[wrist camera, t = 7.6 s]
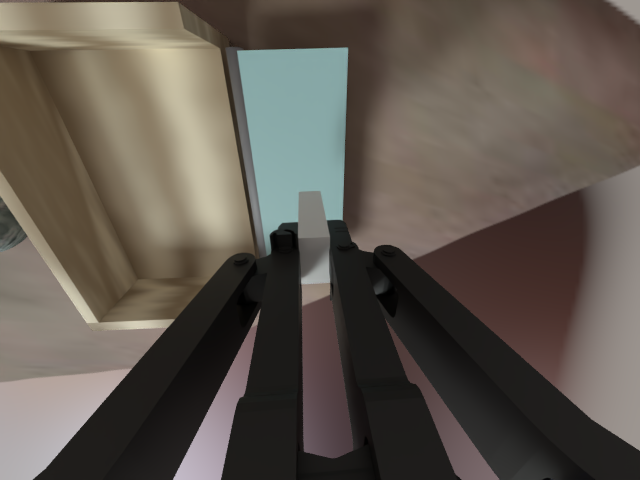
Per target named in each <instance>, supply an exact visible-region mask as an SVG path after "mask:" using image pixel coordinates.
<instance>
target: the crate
mask: <svg viewBox="0 0 640 480" xmlns="http://www.w3.org/2000/svg"><path fill="white" fill-rule="evenodd" d="M226 47H230V44H229V39H228V38H227V37H225V36H224V35H223V34H221V33H220V32H219V31H217V30H216V29H214V28H213V27H212V26H210V25H209V24H208V23H206V22H205V21H203V20H202V19H201V18H199V17H198V16H197V15H195V14H194V13H193V12H191V11H190V10H188V9H187V8H186V7H184V6H183V5H182V4H180V3H179V2H75V3H0V196H1V198H2V199H3V201H4V202H5V204H6V205H7V206H8V208H9V209H10V211H11V212H12V214H13V215H14V217H15V218H16V220H17V221H18V223H19V224H20V226H21V227H22V228H23V230H24V231H25V233H26V234H27V236H28V237H29V239H30V240H31V242H32V243H33V245H34V246H35V248H36V249H37V250H38V252H39V253H40V255H41V256H42V258H43V259H44V261H45V262H46V264H47V265H48V267H49V268H50V270H51V271H52V273H53V274H54V275H55V277H56V278H57V280H58V281H59V283H60V284H61V286H62V287H63V289H64V290H65V292H66V293H67V295H68V296H69V297H70V299H71V300H72V302H73V303H74V305H75V306H76V308H77V309H78V311H79V312H80V314H81V315H82V317H83V318H84V319H85V321H86V322H87V324H88V325H89V327H90V328H91V330H92V331H102V330H124V329H145V328H167V327H169V326H170V325H171V323H172V322H173V321H174V320H175V319H176V318H177V317H178V315H179V314H180V313H181V312H182V311H183V310H184V308H185V307H186V306H187V305H188V304H189V303H190V302H191V300H192V299H193V298H194V297H195V296H196V295H197V293H198V292H199V291H200V290H201V289H202V288H203V287H204V285H205V284H206V283H207V282H208V281H209V280H210V278H211V277H212V276H213V275H214V274H215V273H216V272H217V270H218V269H219V268H220V267H221V266H222V265H223V263H224V262H225V261H226V260H227V259H228V258H229V257H231V256H233V255H235V254H237V253H251V254H253V255H254V256H255V258H256V259H259V258H260V257H259V251H258V245H257V239H256V233H255V227H254V221H253V214H252V208H251V202H250V196H249V190H248V184H247V178H246V171H245V165H244V159H243V153H242V147H241V141H240V134H239V128H238V122H237V116H236V110H235V104H234V98H233V91H232V85H231V79H230V73H229V67H228V61H227V55H226Z"/></svg>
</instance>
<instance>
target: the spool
mask: <svg viewBox="0 0 640 480" xmlns="http://www.w3.org/2000/svg"><path fill="white" fill-rule="evenodd" d="M26 237H27V234H26V233H25V231H24V230H23V228H22V227H21V226H20V224H19V223H18V221H17V220H16V218H15V217H14V215H13V214H12V212H11V211H10V209H9V208H8V206H7V205H6V204H5V202H4V201H3V199H2V198H1V196H0V252H2V251H5V250H8V249H10V248H12V247H14V246H16V245H17V244H19V243H20V242H22V241H23V240H24V239H25V238H26Z"/></svg>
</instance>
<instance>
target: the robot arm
mask: <svg viewBox="0 0 640 480" xmlns="http://www.w3.org/2000/svg"><path fill="white" fill-rule="evenodd" d="M269 236H270V244H271V254H270V255H268V256H266V257H262V258H259V259H256V258H255V256H254V255H253V254H251V253H237V254H235V255H233V256H231V257H229V258H228V259H227V260H226V261H225V262H224V263H223V265H222V266H221V267H220V268H219V269H218V270H217V272H216V273H215V274H214V275H213V276H212V277H211V278H210V280H209V281H208V282H207V283H206V284H205V285H204V287H203V288H202V289H201V290H200V291H199V292H198V293H197V295H196V296H195V297H194V298H193V299H192V300H191V302H190V303H189V304H188V305H187V306H186V307H185V308H184V310H183V311H182V312H181V313H180V314H179V315H178V317H177V318H176V319H175V320H174V321H173V322H172V323H171V325H170V326H169V327H168V328H167V329H166V330H165V332H164V333H163V334H162V335H161V336H160V337H159V338H158V340H157V341H156V342H155V343H154V344H153V345H152V347H151V348H150V349H149V350H148V351H147V352H146V353H145V355H144V356H143V357H142V358H141V359H140V360H139V362H138V363H137V364H136V365H135V366H134V367H133V368H132V370H131V371H130V372H129V373H128V374H127V376H126V377H125V378H124V379H123V380H122V381H121V382H120V383H119V385H118V386H117V387H116V388H115V389H114V390H113V392H112V393H111V394H110V395H109V396H108V397H107V398H106V400H105V401H104V402H103V403H102V404H101V405H100V407H99V408H98V409H97V410H96V411H95V412H94V413H93V415H92V416H91V417H90V418H89V419H88V420H87V422H86V423H85V424H84V425H83V426H82V427H81V428H80V430H79V431H78V432H77V433H76V434H75V435H74V437H73V438H72V439H71V440H70V441H69V442H68V443H67V445H66V446H65V447H64V448H63V449H62V450H61V452H60V453H59V454H58V455H57V456H56V457H55V459H54V460H53V461H52V462H51V463H50V464H49V465H48V467H47V468H46V469H45V470H44V471H42V472H41V473H40V474H39V475H38V476H37V477H35V478H34V479H33V480H173V478H174V476H175V474H176V472H177V470H178V468H179V467H180V465H181V463H182V461H183V459H184V457H185V455H186V453H187V451H188V449H189V447H190V445H191V443H192V441H193V439H194V437H195V435H196V433H197V431H198V429H199V427H200V426H201V423H202V422H203V419H204V418H205V416H206V414H207V412H208V410H209V408H210V406H211V404H212V402H213V400H214V398H215V396H216V394H217V392H218V390H219V388H220V386H221V384H222V382H223V381H224V379H225V377H226V375H227V373H228V371H229V369H230V367H231V365H232V363H233V361H234V359H235V357H236V355H237V353H238V351H239V349H240V347H241V345H242V343H243V341H244V339H245V338H246V336H247V334H248V332H249V330H250V328H251V326H252V324H253V322H254V320H255V318H256V316H257V314H258V312H259V310H260V308H261V310H260V315H259V321H258V326H257V332H256V337H255V342H254V348H253V354H252V359H251V364H250V370H249V375H248V381H247V386H246V391H245V394H244V396H243V397H241V398H240V399H239V401H238V403H237V406H236V410H235V415H234V419H233V424H232V429H231V434H230V439H229V444H228V448H227V453H226V458H225V464H224V468H223V473H222V478H221V480H461V479H460V478H459V477H458V476H457V475H456V474H455V473H454V470H453V468H452V466H451V463H450V461H449V458H448V456H447V453H446V451H445V448H444V446H443V443H442V441H441V439H440V436H439V434H438V431H437V429H436V426H435V424H434V421H433V419H432V416H431V414H430V411H429V409H428V407H427V404H426V402H425V399H424V397H423V395H422V393H421V391H420V389H419V388H418V386H417V385H416V384H412V383H410V382H409V381H408V379H407V376H406V374H405V371H404V369H403V366H402V363H401V361H400V358H399V355H398V353H397V350H396V347H395V345H394V342H393V339H392V337H391V334H390V331H389V329H388V326H387V323H386V321H385V319H386V320H387V322H388V323H389V325H390V326H391V327H392V329H393V330H394V331H395V333H396V334H397V336H398V337H399V339H400V340H401V342H402V343H403V344H404V346H405V347H406V349H407V350H408V352H409V353H410V354H411V356H412V357H413V359H414V360H415V361H416V363H417V364H418V366H419V367H420V368H421V370H422V371H423V373H424V374H425V376H426V377H427V378H428V380H429V381H430V383H431V384H432V385H433V387H434V388H435V390H436V391H437V393H438V394H439V395H440V397H441V398H442V399H443V401H444V403H445V404H446V405H447V407H448V408H449V410H450V411H451V412H452V414H453V415H454V417H455V418H456V419H457V421H458V422H459V424H460V425H461V427H462V428H463V429H464V431H465V432H466V434H467V435H468V436H469V438H470V439H471V441H472V442H473V444H474V445H475V447H476V448H477V449H478V450H479V452H480V454H481V455H482V456H483V458H484V459H485V460H486V462H487V463H488V465H489V466H490V467H491V469H492V470H493V471H494V473H495V474H496V475H497V477H498V478H499V479H500V480H640V451H639V450H638V449H636V448H635V447H633V446H631V445H630V444H628V443H627V442H625V441H624V440H622V439H621V438H619V437H618V436H616V435H615V434H613V433H611V432H610V431H608V430H607V429H605V428H603V427H602V426H601V425H599V424H598V423H596V422H594V421H593V420H591V419H590V418H589V417H588V416H587V415H586V414H585V413H584V412H583V411H581V410H580V409H579V408H578V407H577V406H576V405H574V404H573V403H572V402H571V401H570V400H569V399H568V398H567V397H566V396H564V395H563V394H562V393H561V392H560V391H559V390H558V389H557V388H556V387H554V386H553V385H552V384H551V383H550V382H549V381H548V380H546V379H545V378H544V377H543V376H542V375H541V374H540V373H539V372H538V371H536V370H535V369H534V368H533V367H532V366H531V365H530V364H529V363H527V362H526V361H525V360H524V359H523V358H521V356H520V355H518V354H517V353H516V352H515V351H514V350H513V349H512V348H511V347H509V346H508V345H507V344H506V343H505V342H504V341H503V340H502V339H500V338H499V337H498V336H497V335H496V334H495V333H494V332H493V331H491V330H490V329H489V328H488V327H487V326H486V325H485V324H484V323H482V322H481V321H480V320H479V319H478V318H477V317H476V316H474V315H473V314H472V313H471V312H470V311H469V310H468V309H467V308H466V307H464V306H463V305H462V304H461V303H460V302H459V301H458V300H457V299H455V298H454V297H453V296H452V295H451V294H450V293H449V292H448V291H446V290H445V289H444V288H443V287H442V286H441V285H439V284H438V283H437V282H436V281H435V280H434V279H433V278H432V277H431V276H430V275H428V274H427V273H426V272H425V271H424V270H423V269H422V268H420V267H419V266H418V265H417V264H416V263H415V262H414V261H413V260H412V259H410V258H409V257H408V256H407V255H406V254H405V253H404V252H403V251H401V250H400V249H399V248H397V247H394V246H392V245H381V246H378V247H376V248H375V249H374V253H372V252H366V251H362V250H359V249H358V246H357V245H356V243H354V242H352V240H351V237H350V234H349V232H348V229H347V226H346V223H345V222H343V221H342V220H326V216H325V211H324V206H323V201H322V196H321V192H320V191H305V192H299V203H298V222H288V223H282V224H281V225H280V226H279V227H278V229H277V230H274V231H273V232H271V233H270V235H269ZM314 283H330V300H332V304H333V310H334V316H335V323H336V330H337V337H338V344H339V350H340V357H341V364H342V370H343V377H344V383H345V390H346V397H347V403H348V410H349V417H350V423H351V430H352V438H353V451H352V452H349V453H347V454H345V455H343V456H340V457H338V458H333V459H332V458H327V457H323V456H319V455H314V454H310V453H306V452H304V443H303V366H302V288H301V284H314Z"/></svg>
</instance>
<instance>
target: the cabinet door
mask: <svg viewBox="0 0 640 480" xmlns="http://www.w3.org/2000/svg"><path fill="white" fill-rule="evenodd" d="M226 55H227V61H228V67H229V73H230V79H231V85H232V91H233V98H234V104H235V110H236V116H237V122H238V128H239V134H240V141H241V147H242V153H243V159H244V165H245V171H246V178H247V184H248V190H249V196H250V202H251V208H252V214H253V221H254V227H255V233H256V239H257V245H258V251H259V257H260V258H262V257H266V256H268V255H270V254H271V244H270V236H269V235H270V233H271V232H273V231H274V230H277V229H278V227H279V226H280V225H281V224H282V223H288V222H298V203H299V192H305V191H320V192H321V196H322V201H323V206H324V211H325V216H326V220H343V190H344V159H345V128H346V98H347V67H348V48H315V49H278V50H243V48H240V47H226Z"/></svg>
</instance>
